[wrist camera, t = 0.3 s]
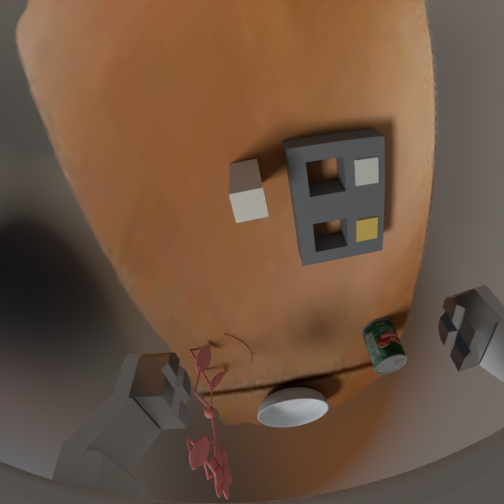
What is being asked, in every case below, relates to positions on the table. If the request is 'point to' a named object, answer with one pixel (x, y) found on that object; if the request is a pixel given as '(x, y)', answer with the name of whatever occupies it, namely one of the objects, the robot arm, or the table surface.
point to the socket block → (338, 193)
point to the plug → (246, 191)
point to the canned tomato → (384, 346)
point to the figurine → (202, 446)
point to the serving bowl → (292, 407)
